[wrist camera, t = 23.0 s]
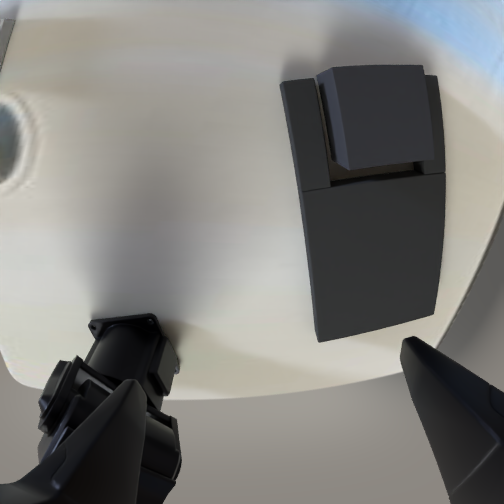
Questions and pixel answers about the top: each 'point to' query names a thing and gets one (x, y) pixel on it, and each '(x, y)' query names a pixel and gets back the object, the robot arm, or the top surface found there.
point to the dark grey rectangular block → (377, 115)
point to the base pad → (366, 227)
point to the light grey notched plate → (5, 36)
